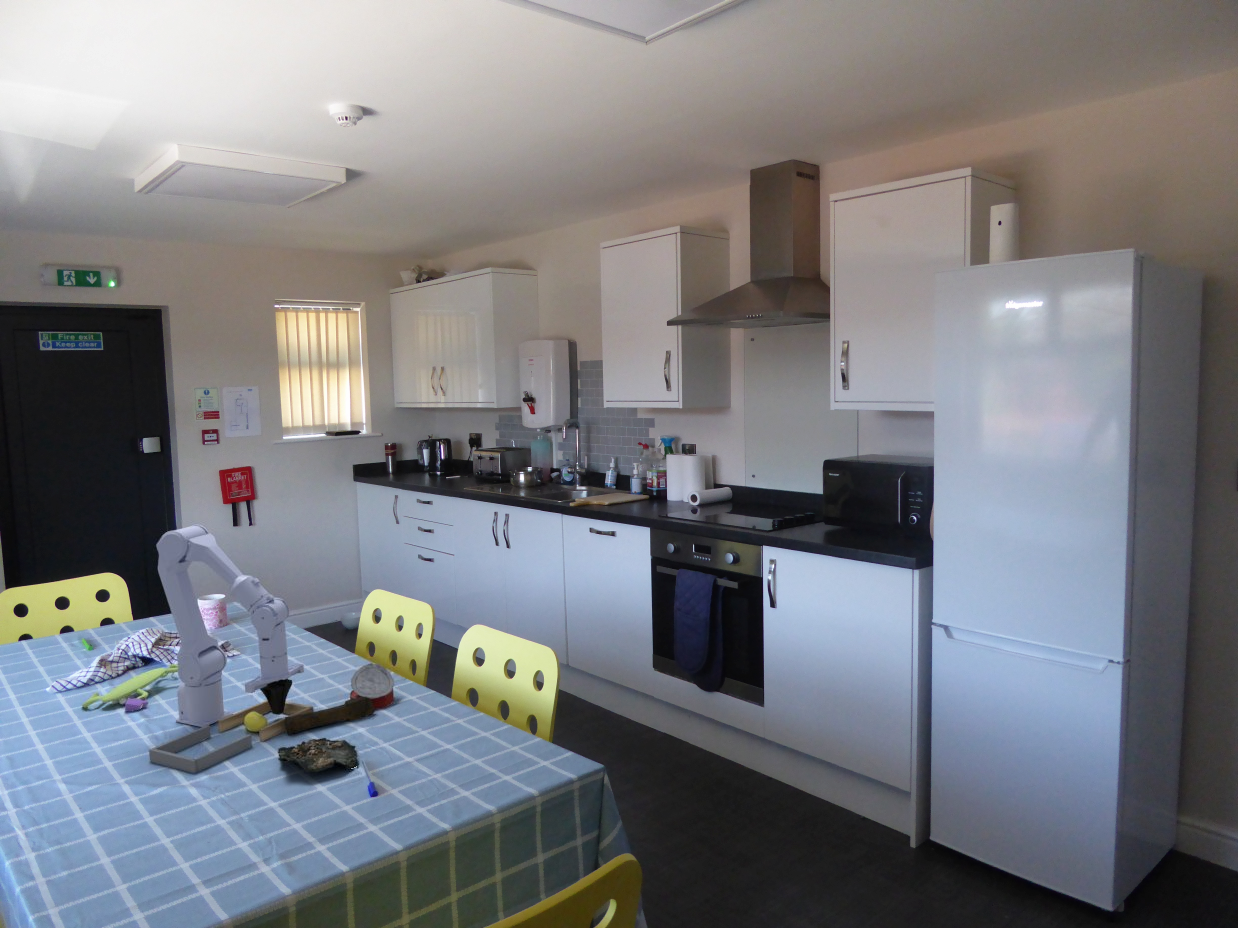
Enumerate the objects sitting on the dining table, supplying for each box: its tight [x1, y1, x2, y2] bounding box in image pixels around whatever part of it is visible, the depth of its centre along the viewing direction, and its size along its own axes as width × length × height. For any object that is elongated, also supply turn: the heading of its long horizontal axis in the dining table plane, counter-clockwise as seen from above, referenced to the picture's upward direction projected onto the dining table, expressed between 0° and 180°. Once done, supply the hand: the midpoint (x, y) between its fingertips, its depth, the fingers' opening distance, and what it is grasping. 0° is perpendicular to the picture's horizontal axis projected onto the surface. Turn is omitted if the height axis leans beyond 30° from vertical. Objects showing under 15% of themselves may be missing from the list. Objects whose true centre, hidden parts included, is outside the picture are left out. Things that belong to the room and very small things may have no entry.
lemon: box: [243, 712, 268, 733], centre depth 181 cm, size 4×8×4 cm, turn 40°
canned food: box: [349, 662, 395, 711], centre depth 194 cm, size 11×10×10 cm
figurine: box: [81, 663, 178, 712], centre depth 205 cm, size 18×27×6 cm
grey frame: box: [148, 725, 253, 774], centre depth 169 cm, size 14×13×2 cm
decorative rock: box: [277, 737, 359, 774], centre depth 164 cm, size 19×6×15 cm
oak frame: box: [217, 699, 315, 742], centre depth 183 cm, size 14×14×2 cm
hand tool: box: [284, 697, 375, 736], centre depth 182 cm, size 19×4×5 cm, turn 120°
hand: (278, 713), depth 186 cm, fingers closed
